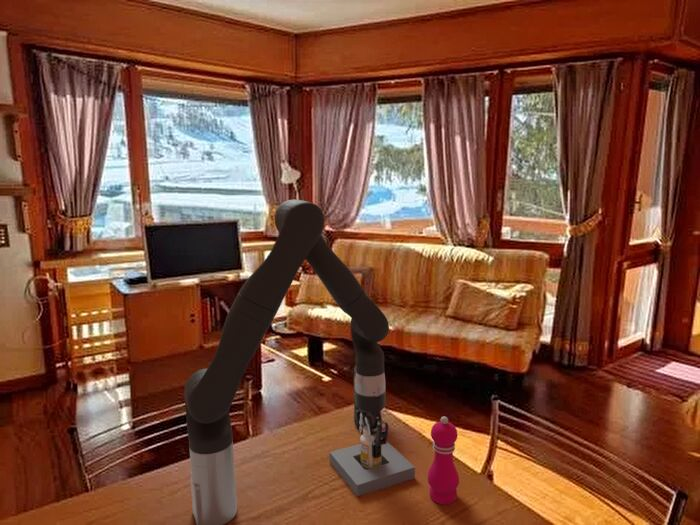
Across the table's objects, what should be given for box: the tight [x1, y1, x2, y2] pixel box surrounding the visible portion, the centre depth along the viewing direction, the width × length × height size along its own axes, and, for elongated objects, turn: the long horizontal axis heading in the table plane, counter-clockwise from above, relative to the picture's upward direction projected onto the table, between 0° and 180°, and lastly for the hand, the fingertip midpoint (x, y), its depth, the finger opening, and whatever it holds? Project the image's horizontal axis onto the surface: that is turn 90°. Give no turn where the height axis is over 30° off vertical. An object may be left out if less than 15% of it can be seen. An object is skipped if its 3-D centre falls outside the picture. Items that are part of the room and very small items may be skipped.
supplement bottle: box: [359, 426, 382, 469], centre depth 129 cm, size 5×5×10 cm
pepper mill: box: [427, 416, 460, 505], centre depth 117 cm, size 7×7×20 cm
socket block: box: [329, 438, 416, 498], centre depth 130 cm, size 16×16×3 cm
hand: (370, 450), depth 129 cm, fingers closed on supplement bottle, 5 cm apart
